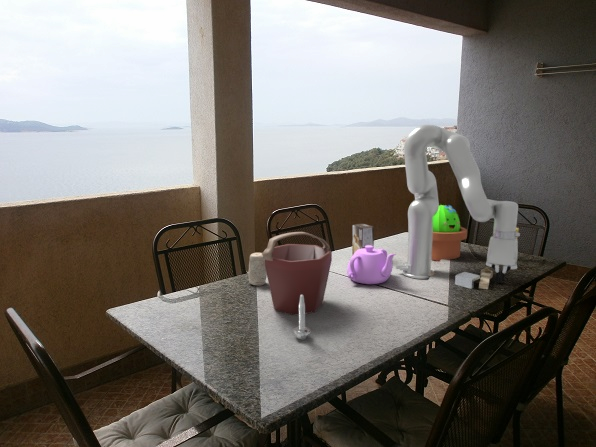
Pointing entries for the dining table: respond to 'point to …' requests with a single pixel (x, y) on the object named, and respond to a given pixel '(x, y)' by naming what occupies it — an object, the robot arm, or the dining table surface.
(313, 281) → the bucket
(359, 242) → the coffee box
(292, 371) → the dining table surface
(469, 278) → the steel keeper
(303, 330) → the screw
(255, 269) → the carving
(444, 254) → the potted cactus
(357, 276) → the teapot
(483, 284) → the oak link
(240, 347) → the dining table surface
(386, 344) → the dining table surface
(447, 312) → the dining table surface
